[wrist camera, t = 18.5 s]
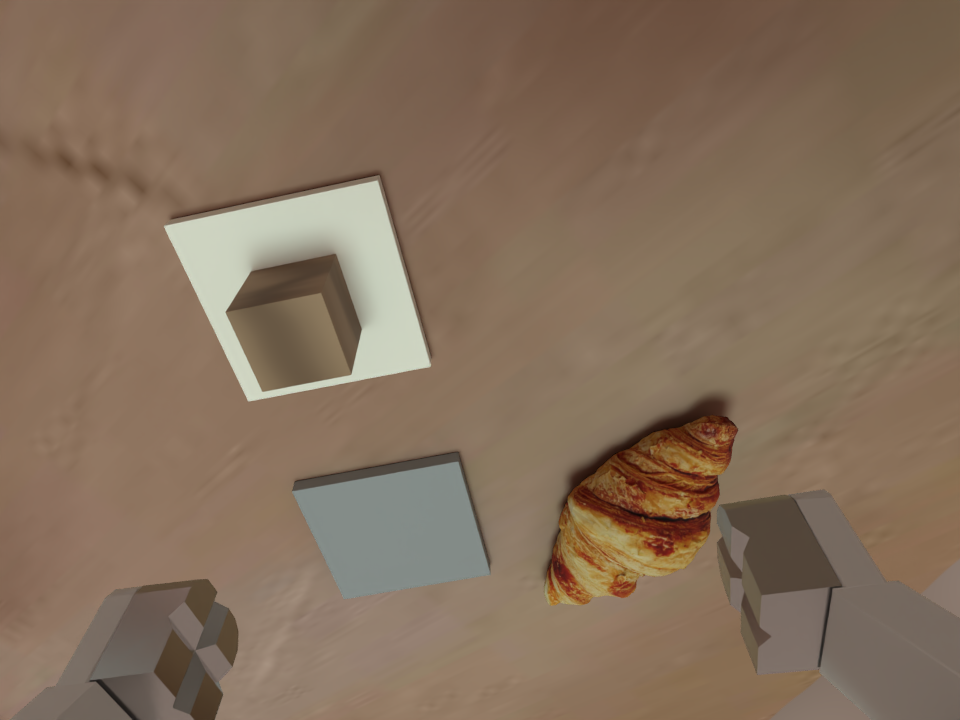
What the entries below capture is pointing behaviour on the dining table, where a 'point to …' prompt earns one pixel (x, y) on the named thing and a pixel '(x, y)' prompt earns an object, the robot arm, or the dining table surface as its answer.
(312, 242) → the pad
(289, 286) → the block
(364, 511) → the pad
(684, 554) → the croissant
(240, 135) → the dining table surface
